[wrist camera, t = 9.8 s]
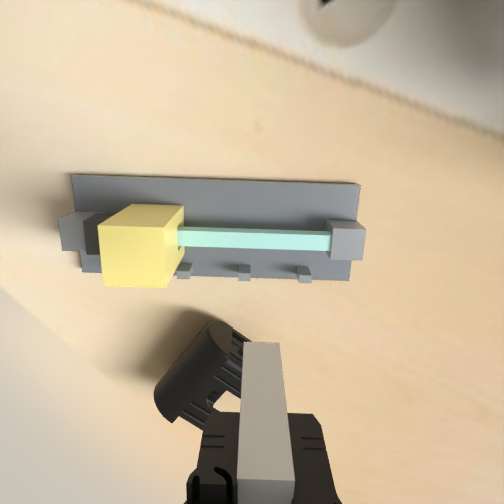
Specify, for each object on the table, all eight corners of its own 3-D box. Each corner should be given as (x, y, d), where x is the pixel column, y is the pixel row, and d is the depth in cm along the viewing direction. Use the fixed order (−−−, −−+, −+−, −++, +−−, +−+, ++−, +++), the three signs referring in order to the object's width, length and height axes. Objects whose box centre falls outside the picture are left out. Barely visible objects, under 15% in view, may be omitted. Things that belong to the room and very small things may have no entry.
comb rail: (75, 174, 37) (49, 181, 33) (357, 183, 38) (373, 192, 33) (86, 268, 41) (63, 288, 36) (346, 277, 41) (359, 297, 36)
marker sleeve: (132, 203, 37) (97, 225, 29) (183, 205, 37) (163, 227, 29) (135, 252, 39) (103, 286, 30) (184, 253, 39) (165, 287, 30)
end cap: (211, 308, 42) (203, 340, 36) (261, 342, 44) (262, 379, 37) (161, 368, 45) (145, 409, 38) (210, 399, 46) (203, 443, 40)
